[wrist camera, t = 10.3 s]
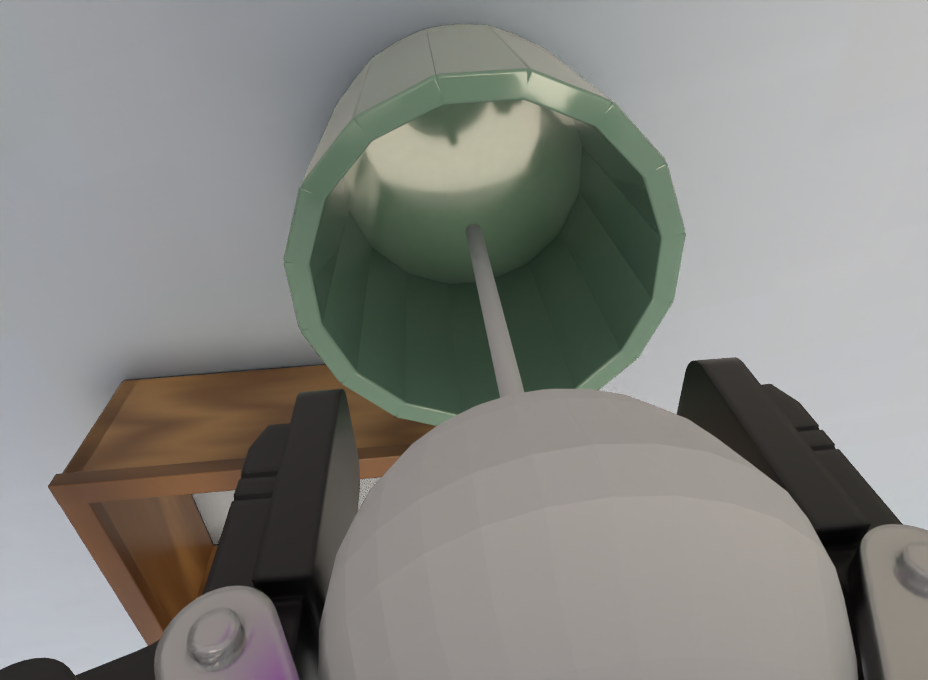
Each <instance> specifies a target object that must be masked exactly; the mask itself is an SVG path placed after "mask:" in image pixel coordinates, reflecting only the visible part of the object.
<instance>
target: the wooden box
mask: <svg viewBox="0 0 928 680" xmlns="http://www.w3.org/2000/svg"><path fill="white" fill-rule="evenodd" d="M331 389H344V391H345V393H346V397H347V401H348V406H349V411H350V416H351V421H352V426H353V431H354V436H355V441H356V447H357V452H358V458H359V469H360V479H366V478H378V477H382V476H383V475H384V474H385V473H386V472H387V471H388V469H389V468H390V467H391V466H392V465H393V464H394V463H395V462H396V461H397V460H398V459H399V458H400V456H401V455H402V454H403V453H404V452H405V451H406V450H407V449H408V448H409V447H410V446H411V445H412V444H413V443H414V442H415V441H417V440H418V439H420V438H421V437H422V436H424V435H425V434H426V433H428V432H429V431H431V430H432V429H433V428H435V427H436V426H434V425H429V424H425V423H420V422H416V421H411V420H407V419H402V418H398V417H396V416H393V415H392V414H390V413H388V412H387V411H385V410H383V409H382V408H380V407H378V406H377V405H375V404H374V403H372V402H370V401H369V400H367V399H365V398H364V397H362V396H360V395H359V394H357V393H355V392H354V391H352V390H350V389H349V388H347V387H346V386H344V385H342V384H341V382H339V381H338V380H337V379H336V377H335V376H334V375H333V373H332V372H331V371H330V369H329V368H328V367H327V365H314V366H302V367H289V368H277V369H265V370H252V371H240V372H227V373H215V374H202V375H190V376H177V377H165V378H153V379H140V380H127V381H122V383H121V384H120V386H119V387H118V389H117V390H116V392H115V393H114V395H113V396H112V398H111V399H110V401H109V403H108V404H107V406H106V407H105V409H104V410H103V412H102V413H101V415H100V416H99V418H98V419H97V421H96V422H95V424H94V425H93V427H92V429H91V430H90V432H89V433H88V435H87V436H86V438H85V439H84V441H83V442H82V444H81V445H80V447H79V448H78V450H77V452H76V453H75V455H74V456H73V458H72V459H71V461H70V462H69V464H68V465H67V467H66V468H65V470H64V471H63V473H62V474H56V475H55V476H54V478H53V479H52V481H51V482H50V484H49V485H48V488H49V489H50V491H51V492H52V494H53V496H54V497H55V499H56V500H57V502H58V504H59V505H60V506H61V508H62V509H63V511H64V512H65V514H66V516H67V517H68V519H69V520H70V522H71V524H72V525H73V527H74V528H75V530H76V532H77V533H78V535H79V536H80V538H81V540H82V541H83V543H84V544H85V546H86V548H87V549H88V551H89V552H90V554H91V556H92V557H93V559H94V560H95V562H96V564H97V565H98V567H99V568H100V570H101V572H102V573H103V575H104V576H105V578H106V579H107V581H108V583H109V584H110V586H111V587H112V589H113V591H114V592H115V594H116V595H117V597H118V599H119V600H120V602H121V603H122V605H123V607H124V608H125V610H126V611H127V613H128V615H129V616H130V618H131V619H132V621H133V623H134V624H135V626H136V627H137V629H138V631H139V632H140V634H141V635H142V637H143V639H144V640H145V642H146V643H147V645H148V646H149V645H151V644H153V643H154V642H156V641H158V640H159V639H160V638H161V636H162V634H163V632H164V630H165V629H166V628H167V626H168V625H169V623H170V622H171V621H172V619H173V618H174V617H175V616H176V615H177V614H178V613H179V612H180V611H181V610H182V609H183V608H184V607H186V606H187V605H188V604H189V603H191V602H192V601H194V600H195V599H197V598H198V597H200V596H201V595H202V592H203V590H204V587H205V585H206V582H207V578H208V575H209V572H210V569H211V566H212V563H213V560H214V556H215V553H216V550H217V547H218V545H213V544H212V541H211V539H210V537H209V535H208V532H207V530H206V528H205V525H204V523H203V521H202V519H201V516H200V514H199V512H198V509H197V507H196V505H195V503H194V500H193V498H192V496H191V494H196V493H207V492H219V491H230V490H236V487H237V484H238V481H239V479H241V471H242V468H243V465H244V462H245V459H246V456H247V452H248V449H249V447H250V446H251V445H252V444H253V443H254V442H255V440H256V439H257V438H258V437H259V436H260V435H261V433H262V432H263V431H264V430H265V429H266V427H267V426H268V425H275V424H287V423H290V422H291V418H292V414H293V410H294V406H295V401H296V398H297V395H298V393H299V392H307V391H319V390H331Z"/></svg>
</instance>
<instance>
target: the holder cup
mask: <svg viewBox="0 0 928 680" xmlns="http://www.w3.org/2000/svg"><path fill="white" fill-rule="evenodd" d="M470 224H477V225H479V226H480V227H481V230H482V234H483V238H484V242H485V245H486V249H487V253H488V257H489V260H490V264H491V268H492V272H493V276H494V279H495V283H496V287H497V291H498V294H499V298H500V302H501V306H502V310H503V313H504V317H505V321H506V325H507V328H508V332H509V336H510V340H511V343H512V347H513V351H514V355H515V359H516V362H517V366H518V370H519V374H520V377H521V381H522V385H523V389H524V392H530V391H537V390H544V389H593V390H599V389H601V388H602V387H603V386H604V385H606V384H607V383H608V382H609V381H611V380H612V379H613V378H614V377H616V376H617V375H618V374H619V373H621V372H622V371H623V370H624V369H625V368H627V367H628V366H629V365H630V364H632V363H633V362H634V361H635V360H636V358H639V356H640V354H641V353H642V351H643V350H644V348H645V346H646V345H647V343H648V342H649V340H650V338H651V337H652V335H653V334H654V332H655V330H656V329H657V327H658V326H659V324H660V322H661V321H662V319H663V318H664V316H665V314H666V313H667V311H668V310H669V308H670V306H671V305H672V303H673V301H674V297H675V291H676V286H677V280H678V274H679V269H680V263H681V257H682V252H683V246H684V240H685V235H686V234H685V228H684V224H683V220H682V216H681V213H680V209H679V205H678V202H677V198H676V194H675V190H674V187H673V183H672V179H671V175H670V172H669V168H668V164H667V163H666V160H665V158H664V157H663V156H662V155H661V154H660V153H659V151H658V150H657V149H656V148H655V147H654V146H653V145H652V144H651V143H650V141H649V140H648V139H647V138H646V137H645V136H644V135H643V134H642V133H641V131H640V130H639V129H638V128H637V127H636V126H635V125H634V124H633V122H632V121H631V120H630V119H629V118H628V117H627V116H626V115H625V114H624V112H623V111H622V110H621V109H620V108H619V107H618V106H617V105H616V104H615V103H614V102H613V101H612V100H611V99H609V98H608V97H607V96H605V95H604V94H603V93H602V92H600V91H599V90H598V89H596V88H595V87H594V86H592V85H591V84H590V83H589V82H587V81H586V80H585V79H583V78H582V77H581V76H580V75H578V74H577V73H576V72H574V71H573V70H572V69H571V68H569V67H568V66H567V65H565V64H564V63H563V62H561V61H560V60H559V59H558V58H556V57H555V56H554V55H552V54H551V53H550V52H549V51H547V50H546V49H545V48H543V47H542V46H540V45H537V44H535V43H532V42H530V41H527V40H525V39H523V38H521V37H519V36H517V35H515V34H513V33H510V32H507V31H504V30H501V29H498V28H495V27H493V26H490V25H488V26H487V25H476V24H452V25H444V26H437V27H433V28H427V29H423V30H421V31H419V32H416V33H414V34H412V35H409V36H407V37H405V38H403V39H400V40H398V41H397V42H395V43H394V44H392V45H391V46H389V47H388V48H386V49H384V50H383V51H382V52H380V53H379V54H377V55H375V56H374V57H373V59H370V60H369V62H368V63H367V64H366V66H365V67H364V68H363V69H362V71H361V72H360V73H359V74H358V75H357V76H356V77H355V79H354V80H353V82H352V83H351V85H350V86H349V88H348V89H347V91H346V92H345V94H344V95H343V96H342V98H341V99H340V100H339V101H338V103H337V105H336V107H335V109H334V111H333V113H332V116H331V118H330V120H329V122H328V125H327V127H326V129H325V131H324V133H323V136H322V138H321V140H320V142H319V145H318V147H317V149H316V151H315V154H314V156H313V158H312V160H311V163H310V165H309V167H308V169H307V171H306V174H305V176H304V178H303V180H302V183H301V185H300V187H299V190H298V195H297V199H296V204H295V209H294V213H293V218H292V222H291V227H290V231H289V236H288V241H287V245H286V250H285V254H284V267H285V271H286V276H287V280H288V284H289V288H290V293H291V297H292V301H293V305H294V310H295V314H296V318H297V322H298V326H299V329H301V333H302V334H303V335H304V337H305V338H306V339H307V341H308V342H309V343H310V344H311V346H312V347H313V348H314V350H315V351H316V352H317V354H318V355H319V356H320V358H321V359H322V360H323V361H324V363H325V364H326V365H327V367H328V368H329V369H330V371H331V372H332V373H333V375H334V376H335V377H336V379H337V380H338V381H339V382H341V384H342V385H344V386H346V387H347V388H349V389H350V390H352V391H354V392H355V393H357V394H359V395H360V396H362V397H364V398H365V399H367V400H369V401H370V402H372V403H374V404H375V405H377V406H378V407H380V408H382V409H383V410H385V411H387V412H388V413H390V414H392V415H393V416H396V417H398V418H402V419H407V420H411V421H416V422H420V423H425V424H429V425H434V426H437V425H439V424H440V423H442V422H444V421H446V420H448V419H450V418H452V417H454V416H456V415H458V414H460V413H462V412H464V411H466V410H468V409H470V408H472V407H475V406H477V405H480V404H483V403H486V402H489V401H492V400H495V399H499V398H500V395H499V390H498V385H497V380H496V376H495V371H494V366H493V361H492V356H491V352H490V347H489V342H488V337H487V332H486V328H485V323H484V318H483V313H482V308H481V304H480V299H479V294H478V289H477V284H476V280H475V275H474V270H473V265H472V260H471V256H470V251H469V246H468V241H467V236H466V228H467V227H468V226H469V225H470Z"/></svg>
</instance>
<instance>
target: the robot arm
mask: <svg viewBox="0 0 928 680" xmlns="http://www.w3.org/2000/svg"><path fill="white" fill-rule="evenodd" d="M677 415H679V416H682V417H684V418H687V419H689V420H690V421H692V422H693V423H695V424H696V425H698V426H699V427H701V428H702V429H704V430H705V431H707V432H708V433H710V434H711V435H713V436H715V437H716V438H717V439H719V440H720V441H721V442H723V443H724V444H725V445H727V446H728V447H729V448H731V449H732V450H733V451H735V452H736V453H737V454H739V455H740V456H741V457H743V458H744V459H745V460H747V461H748V462H749V463H751V464H752V465H753V466H755V467H756V468H757V469H759V470H760V471H761V472H762V473H764V474H765V475H766V476H768V477H769V478H770V479H772V480H773V481H774V482H775V483H777V484H778V485H779V486H781V487H782V488H783V489H785V490H786V491H787V492H788V493H789V494H790V496H791V497H792V498H793V500H794V501H795V502H796V504H797V505H798V506H799V507H800V509H801V510H802V511H803V513H804V514H805V515H806V516H807V518H808V519H809V521H810V523H811V525H812V526H813V528H814V530H815V532H816V534H817V535H818V537H819V539H820V541H821V543H822V545H823V546H824V548H825V550H826V552H827V554H828V556H829V557H830V559H831V561H832V563H833V565H834V566H835V568H836V572H837V575H838V579H839V582H840V585H841V589H842V592H843V596H844V600H845V605H846V610H847V615H848V619H849V624H850V629H851V634H852V639H853V644H854V648H855V653H856V658H857V670H858V680H928V531H927V530H925V529H921V528H917V527H914V526H908V525H903V524H902V523H901V522H900V521H899V519H898V518H897V517H896V516H895V515H894V514H893V512H892V511H891V510H890V509H889V508H888V506H887V505H886V504H885V503H884V502H883V501H882V499H881V498H880V497H879V496H878V495H877V494H876V492H875V491H874V490H873V489H872V488H871V486H870V485H869V484H868V483H867V482H866V481H865V479H864V478H863V477H862V476H861V475H860V473H859V472H858V471H857V470H856V469H855V468H854V466H853V465H852V464H851V463H850V462H849V460H848V459H847V458H846V457H845V456H844V455H843V453H842V452H841V451H840V450H839V449H835V446H834V445H835V444H834V443H833V442H832V440H831V439H830V438H829V437H828V436H827V435H826V433H825V432H824V431H823V430H819V428H818V426H819V425H818V424H817V423H816V422H815V420H814V419H813V418H812V417H811V416H810V414H809V413H808V412H807V411H806V410H805V409H804V407H803V406H802V405H801V404H800V403H799V402H798V401H796V400H795V399H793V398H792V397H790V396H789V395H787V394H786V393H784V392H782V391H781V390H779V389H778V388H776V387H775V386H773V385H772V384H765V385H761V384H760V383H759V382H758V381H757V379H756V378H755V377H754V376H753V374H752V373H751V372H750V371H749V369H748V368H747V367H746V366H745V364H744V363H743V362H742V361H741V360H740V359H738V358H722V359H709V360H697V361H691V362H690V363H689V364H688V366H687V368H686V372H685V377H684V381H683V386H682V391H681V396H680V401H679V406H678V411H677ZM359 490H360V469H359V458H358V452H357V447H356V441H355V436H354V431H353V426H352V421H351V416H350V411H349V406H348V401H347V397H346V393H345V391H344V389H331V390H319V391H307V392H299V393H298V395H297V398H296V401H295V406H294V410H293V414H292V418H291V422H290V423H287V424H275V425H268V426H267V427H266V429H265V430H264V431H263V432H262V433H261V435H260V436H259V437H258V438H257V439H256V440H255V442H254V443H253V444H252V445H251V446H250V447H249V449H248V452H247V456H246V459H245V462H244V465H243V468H242V471H241V479H239V481H238V484H237V487H236V490H235V493H234V501H232V503H231V506H230V509H229V512H228V515H227V519H226V522H225V525H224V528H223V531H222V534H221V538H220V541H219V544H218V547H217V550H216V553H215V556H214V560H213V563H212V566H211V569H210V572H209V575H208V578H207V582H206V585H205V587H204V590H203V592H202V595H201V596H200V597H198V598H197V599H195V600H194V601H192V602H191V603H189V604H188V605H187V606H186V607H184V608H183V609H182V610H181V611H180V612H179V613H178V614H177V615H176V616H175V617H174V618H173V619H172V621H171V622H170V623H169V625H168V626H167V628H166V629H165V630H164V632H163V634H162V636H161V638H160V639H159V640H158V641H156V642H154V643H153V644H151V645H149V646H147V647H145V648H143V649H141V650H138V651H136V652H134V653H131V654H129V655H126V656H123V657H121V658H118V659H116V660H113V661H111V662H108V663H106V664H103V665H101V666H98V667H96V668H93V669H91V670H88V671H86V672H83V673H81V674H78V675H76V676H75V675H74V674H73V672H72V671H71V670H70V669H69V667H67V666H66V665H65V664H64V663H62V662H60V661H58V660H55V659H49V658H34V659H29V660H24V661H21V662H18V663H15V664H12V665H10V666H8V667H5V668H3V669H1V670H0V680H318V657H319V627H320V622H321V618H322V613H323V609H324V605H325V600H326V596H327V592H328V587H329V583H330V579H331V575H332V571H333V566H334V562H335V558H336V554H337V552H338V550H339V548H340V546H341V544H342V542H343V540H344V538H345V536H346V533H347V531H348V529H349V527H350V525H351V523H352V521H353V519H354V517H355V516H356V514H357V512H358V501H359Z"/></svg>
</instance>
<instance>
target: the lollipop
mask: <svg viewBox="0 0 928 680" xmlns="http://www.w3.org/2000/svg"><path fill="white" fill-rule="evenodd" d="M466 236H467V241H468V246H469V251H470V256H471V260H472V265H473V270H474V275H475V280H476V284H477V289H478V294H479V299H480V304H481V308H482V313H483V318H484V323H485V328H486V332H487V337H488V342H489V347H490V352H491V356H492V361H493V366H494V371H495V376H496V380H497V385H498V390H499V395H500V398H499V399H495V400H492V401H489V402H486V403H483V404H480V405H477V406H475V407H472V408H470V409H468V410H466V411H464V412H462V413H460V414H458V415H456V416H454V417H452V418H450V419H448V420H446V421H444V422H442V423H440V424H439V425H437V426H436V427H435V428H433V429H432V430H431V431H429V432H428V433H426V434H425V435H424V436H422V437H421V438H420V439H418V440H417V441H415V442H414V443H413V444H412V445H411V446H410V447H409V448H408V449H407V450H406V451H405V452H404V453H403V454H402V455H401V456H400V458H399V459H398V460H397V461H396V462H395V463H394V464H393V465H392V466H391V467H390V468H389V469H388V471H387V472H386V473H385V474H384V475H383V476H382V477H381V478H380V480H379V481H378V482H377V483H376V484H375V485H374V486H373V487H372V489H371V490H370V491H369V493H368V495H367V496H366V498H365V500H364V502H363V503H362V505H361V507H360V509H359V510H358V512H357V514H356V516H355V517H354V519H353V521H352V523H351V525H350V527H349V529H348V531H347V533H346V536H345V538H344V540H343V542H342V544H341V546H340V548H339V550H338V552H337V554H336V558H335V562H334V566H333V571H332V575H331V579H330V583H329V587H328V592H327V596H326V600H325V605H324V609H323V613H322V618H321V622H320V627H319V657H318V680H858V670H857V658H856V653H855V648H854V644H853V639H852V634H851V629H850V624H849V619H848V615H847V610H846V605H845V600H844V596H843V592H842V589H841V585H840V582H839V579H838V575H837V572H836V568H835V566H834V565H833V563H832V561H831V559H830V557H829V556H828V554H827V552H826V550H825V548H824V546H823V545H822V543H821V541H820V539H819V537H818V535H817V534H816V532H815V530H814V528H813V526H812V525H811V523H810V521H809V519H808V518H807V516H806V515H805V514H804V513H803V511H802V510H801V509H800V507H799V506H798V505H797V504H796V502H795V501H794V500H793V498H792V497H791V496H790V494H789V493H788V492H787V491H786V490H785V489H783V488H782V487H781V486H779V485H778V484H777V483H775V482H774V481H773V480H772V479H770V478H769V477H768V476H766V475H765V474H764V473H762V472H761V471H760V470H759V469H757V468H756V467H755V466H753V465H752V464H751V463H749V462H748V461H747V460H745V459H744V458H743V457H741V456H740V455H739V454H737V453H736V452H735V451H733V450H732V449H731V448H729V447H728V446H727V445H725V444H724V443H723V442H721V441H720V440H719V439H717V438H716V437H715V436H713V435H711V434H710V433H708V432H707V431H705V430H704V429H702V428H701V427H699V426H698V425H696V424H695V423H693V422H692V421H690V420H689V419H687V418H684V417H682V416H679V415H677V414H674V413H672V412H669V411H667V410H664V409H662V408H659V407H657V406H654V405H651V404H649V403H646V402H643V401H640V400H638V399H635V398H632V397H630V396H627V395H623V394H617V393H611V392H605V391H599V390H593V389H544V390H537V391H530V392H524V389H523V385H522V381H521V377H520V374H519V370H518V366H517V362H516V359H515V355H514V351H513V347H512V343H511V340H510V336H509V332H508V328H507V325H506V321H505V317H504V313H503V310H502V306H501V302H500V298H499V294H498V291H497V287H496V283H495V279H494V276H493V272H492V268H491V264H490V260H489V257H488V253H487V249H486V245H485V242H484V238H483V234H482V230H481V227H480V226H479V225H477V224H470V225H469V226H468V227H467V228H466Z"/></svg>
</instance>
